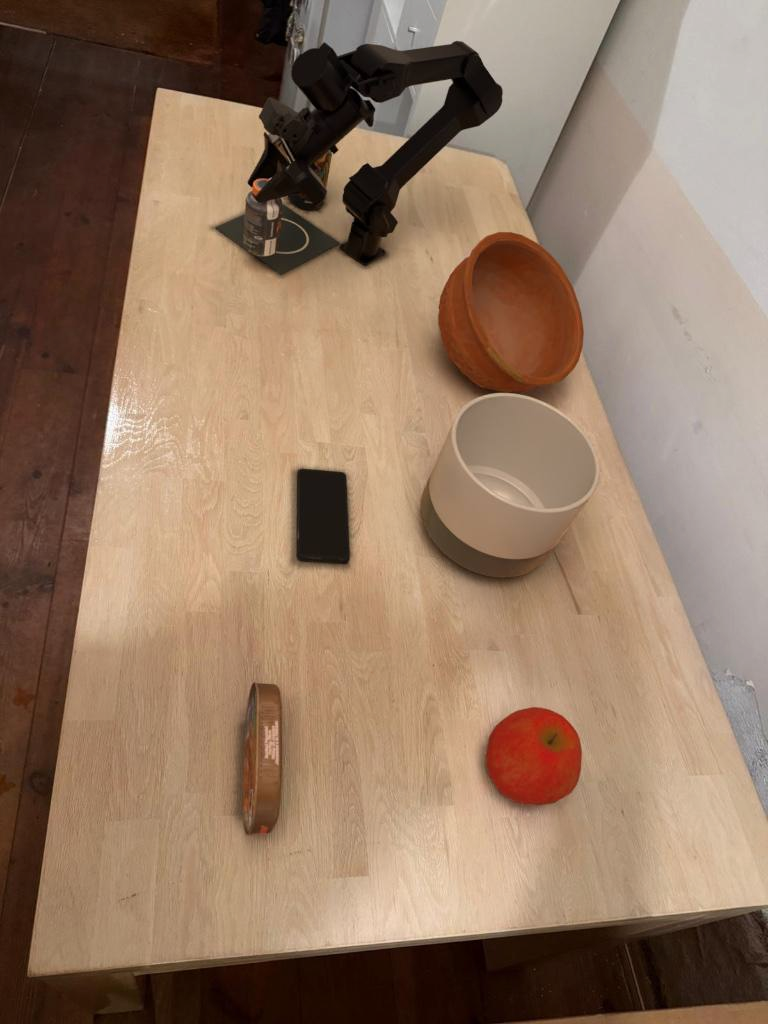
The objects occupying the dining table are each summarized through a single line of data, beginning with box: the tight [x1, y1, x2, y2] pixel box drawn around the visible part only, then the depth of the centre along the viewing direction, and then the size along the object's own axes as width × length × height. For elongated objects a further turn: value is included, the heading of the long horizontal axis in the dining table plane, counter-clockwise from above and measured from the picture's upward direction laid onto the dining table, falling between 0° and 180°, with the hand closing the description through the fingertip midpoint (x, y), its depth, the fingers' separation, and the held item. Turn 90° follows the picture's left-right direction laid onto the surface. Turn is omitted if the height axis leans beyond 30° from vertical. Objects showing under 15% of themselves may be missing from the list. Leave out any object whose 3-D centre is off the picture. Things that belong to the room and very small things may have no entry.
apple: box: [485, 706, 583, 806], centre depth 81 cm, size 10×10×10 cm
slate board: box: [214, 204, 341, 276], centre depth 135 cm, size 16×16×1 cm
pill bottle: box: [243, 178, 284, 256], centre depth 122 cm, size 6×6×11 cm
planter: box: [420, 392, 601, 578], centre depth 98 cm, size 19×19×18 cm
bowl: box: [437, 231, 585, 393], centre depth 121 cm, size 25×25×15 cm
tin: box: [242, 681, 283, 836], centre depth 76 cm, size 15×3×8 cm, turn 5°
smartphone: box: [296, 468, 351, 564], centre depth 100 cm, size 7×1×15 cm
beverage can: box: [287, 150, 333, 211], centre depth 140 cm, size 7×7×12 cm
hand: (252, 192), depth 117 cm, fingers closed on pill bottle, 4 cm apart
